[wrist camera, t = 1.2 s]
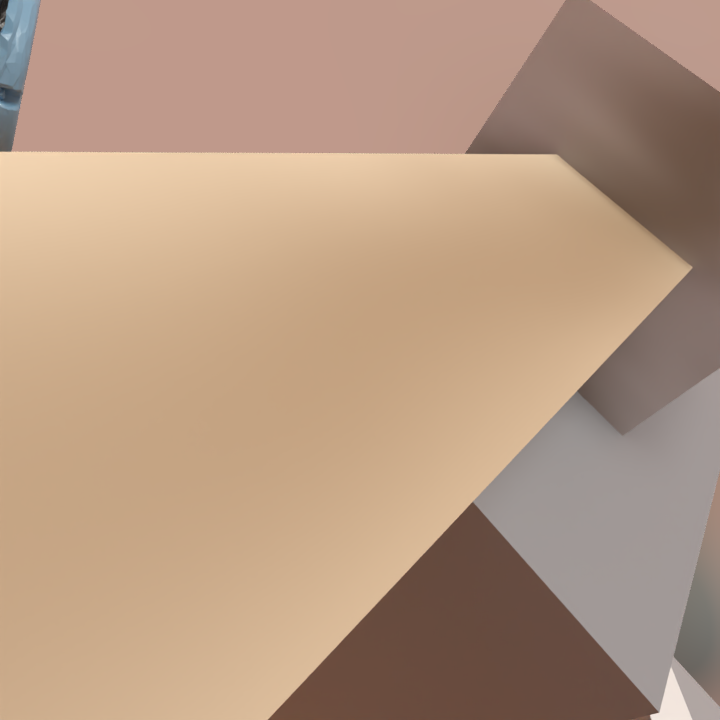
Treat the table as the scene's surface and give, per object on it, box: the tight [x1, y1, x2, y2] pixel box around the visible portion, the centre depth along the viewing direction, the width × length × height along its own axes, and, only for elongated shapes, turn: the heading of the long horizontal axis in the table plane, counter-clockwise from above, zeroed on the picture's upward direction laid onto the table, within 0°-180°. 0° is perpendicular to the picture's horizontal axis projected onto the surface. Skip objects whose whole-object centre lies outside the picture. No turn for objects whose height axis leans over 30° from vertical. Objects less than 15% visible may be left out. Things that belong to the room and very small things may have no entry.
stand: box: [268, 368, 720, 720], centre depth 21 cm, size 20×14×30 cm
